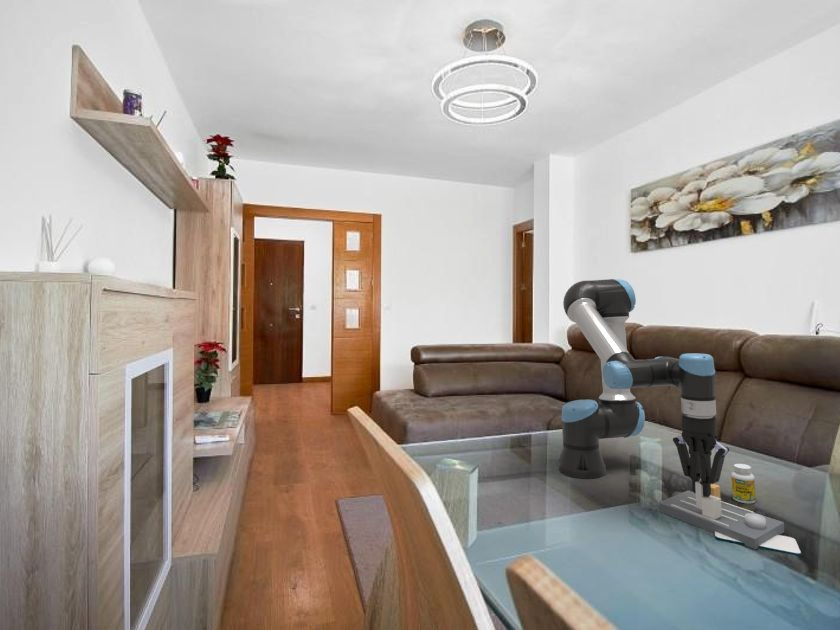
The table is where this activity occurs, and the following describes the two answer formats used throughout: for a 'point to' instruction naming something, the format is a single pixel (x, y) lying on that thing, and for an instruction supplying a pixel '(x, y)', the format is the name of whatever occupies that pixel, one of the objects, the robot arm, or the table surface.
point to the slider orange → (715, 490)
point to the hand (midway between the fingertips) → (702, 507)
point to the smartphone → (769, 543)
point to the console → (724, 520)
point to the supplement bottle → (743, 484)
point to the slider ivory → (711, 507)
